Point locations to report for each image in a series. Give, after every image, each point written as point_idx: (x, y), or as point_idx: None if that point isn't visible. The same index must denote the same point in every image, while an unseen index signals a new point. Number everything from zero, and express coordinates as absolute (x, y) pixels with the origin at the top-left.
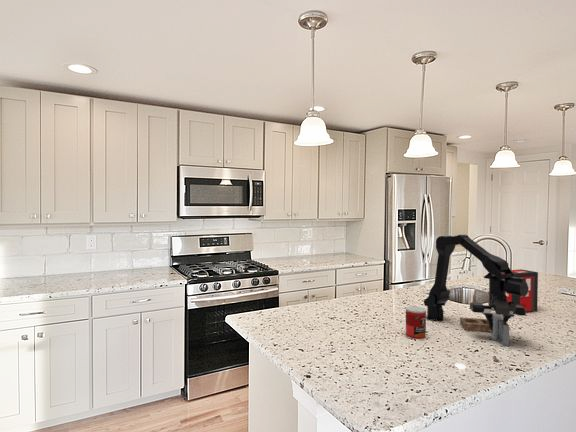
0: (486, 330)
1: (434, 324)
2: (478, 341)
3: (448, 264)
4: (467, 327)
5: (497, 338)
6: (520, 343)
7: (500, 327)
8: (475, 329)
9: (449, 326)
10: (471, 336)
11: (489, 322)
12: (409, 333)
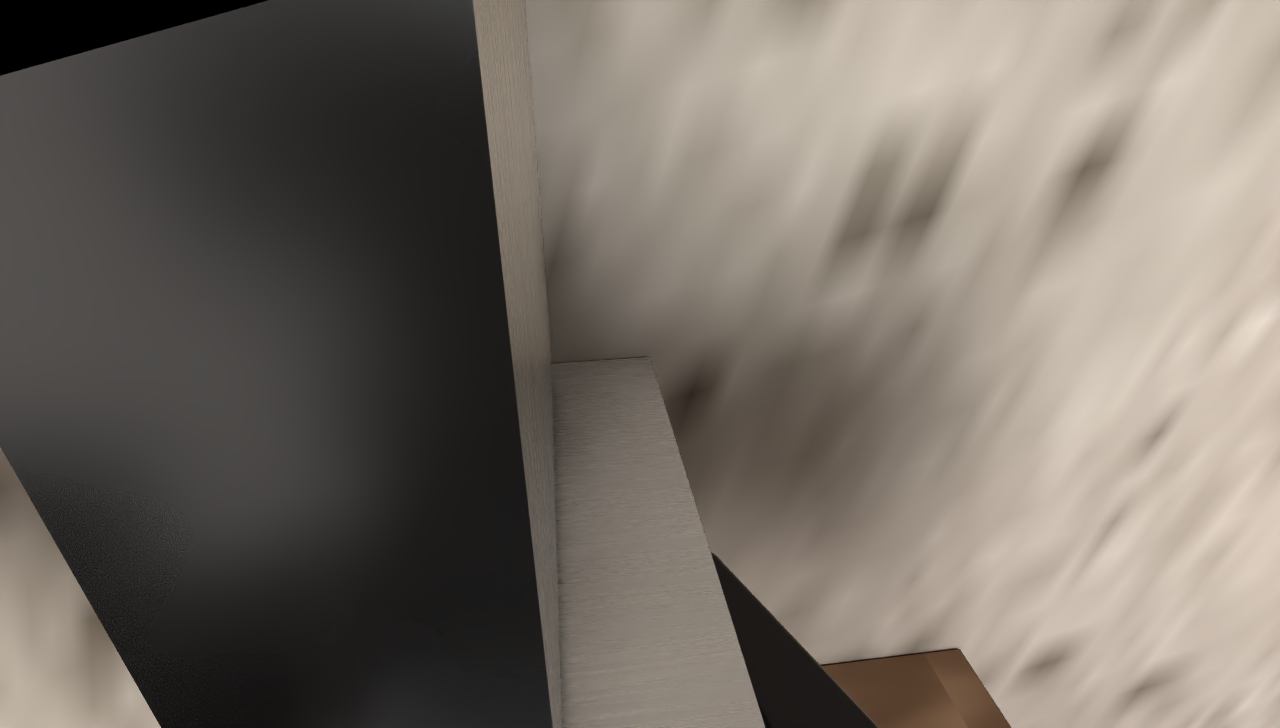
0: None
1: (1247, 722)
2: (998, 177)
3: None
4: (951, 704)
5: (563, 386)
6: None
7: (539, 423)
8: None
9: (1089, 721)
10: (989, 432)
11: (868, 720)
12: None
